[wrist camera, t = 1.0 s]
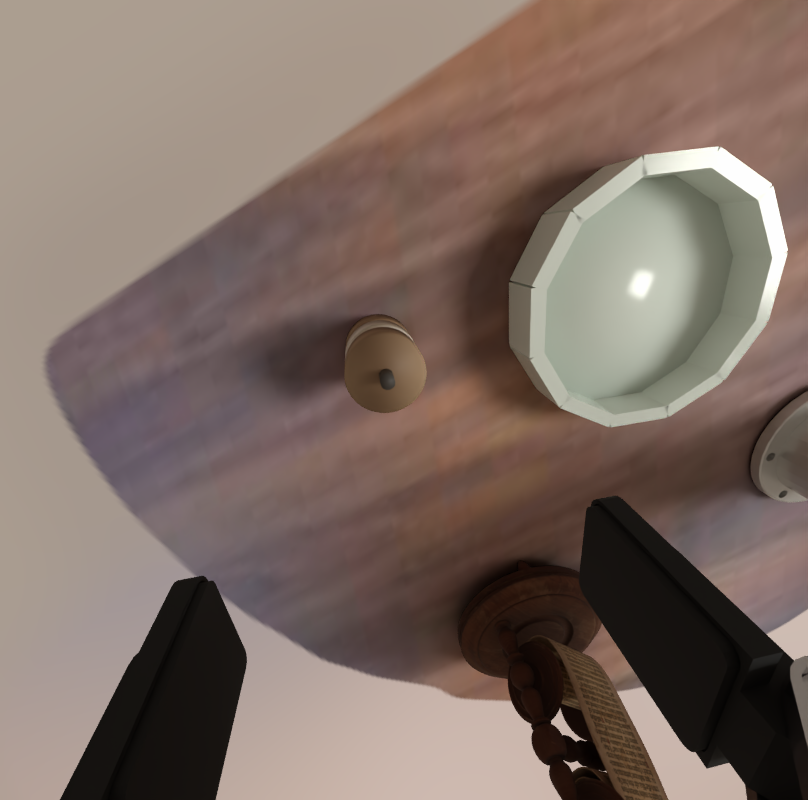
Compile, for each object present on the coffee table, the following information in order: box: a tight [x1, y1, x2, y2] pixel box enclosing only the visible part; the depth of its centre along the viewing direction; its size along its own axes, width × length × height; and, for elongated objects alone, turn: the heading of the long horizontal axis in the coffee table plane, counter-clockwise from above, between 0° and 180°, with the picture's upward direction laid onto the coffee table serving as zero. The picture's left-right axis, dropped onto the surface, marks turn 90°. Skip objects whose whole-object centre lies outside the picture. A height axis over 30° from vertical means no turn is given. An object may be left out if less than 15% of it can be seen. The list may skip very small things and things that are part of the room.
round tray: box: [509, 146, 788, 427], centre depth 26 cm, size 17×17×4 cm
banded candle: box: [344, 314, 426, 413], centre depth 23 cm, size 5×5×7 cm
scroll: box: [458, 561, 668, 800], centre depth 30 cm, size 15×15×20 cm
